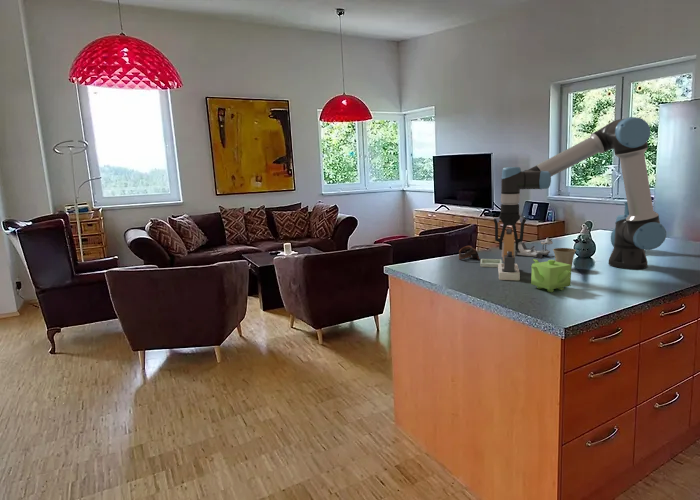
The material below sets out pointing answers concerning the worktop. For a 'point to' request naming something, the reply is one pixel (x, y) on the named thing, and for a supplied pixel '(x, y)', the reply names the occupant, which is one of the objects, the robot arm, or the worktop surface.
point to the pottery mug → (468, 253)
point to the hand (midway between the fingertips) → (508, 257)
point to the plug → (508, 242)
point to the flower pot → (564, 255)
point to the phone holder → (530, 252)
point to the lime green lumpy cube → (550, 275)
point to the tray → (490, 262)
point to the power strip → (508, 268)
